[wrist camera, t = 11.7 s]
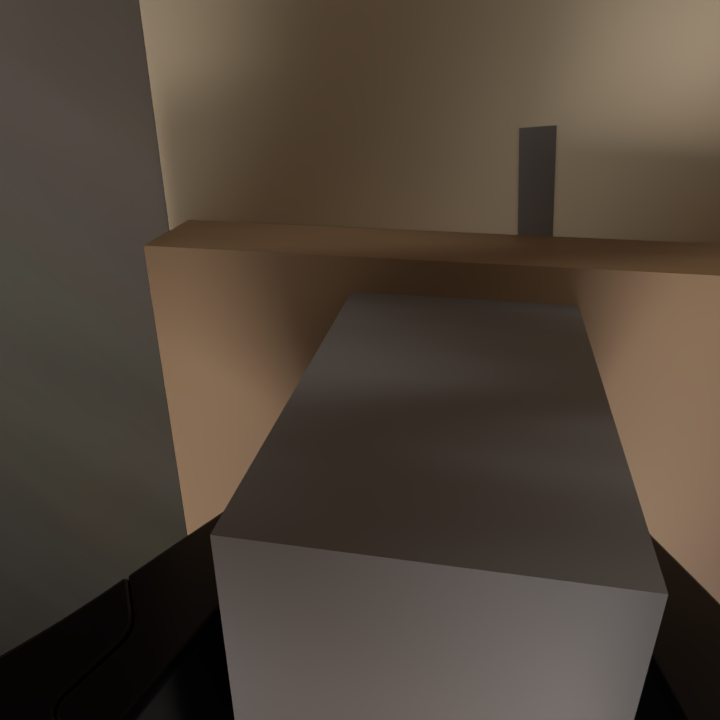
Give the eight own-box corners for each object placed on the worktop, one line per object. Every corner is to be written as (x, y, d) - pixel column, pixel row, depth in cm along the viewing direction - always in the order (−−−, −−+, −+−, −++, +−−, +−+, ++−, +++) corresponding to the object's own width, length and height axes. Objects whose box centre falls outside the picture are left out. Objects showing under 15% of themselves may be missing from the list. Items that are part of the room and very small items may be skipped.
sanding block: (795, 246, 9) (1317, 602, 3) (699, 574, 12) (895, 1089, 6) (188, 220, 11) (-181, 431, 5) (223, 514, 13) (12, 879, 7)
